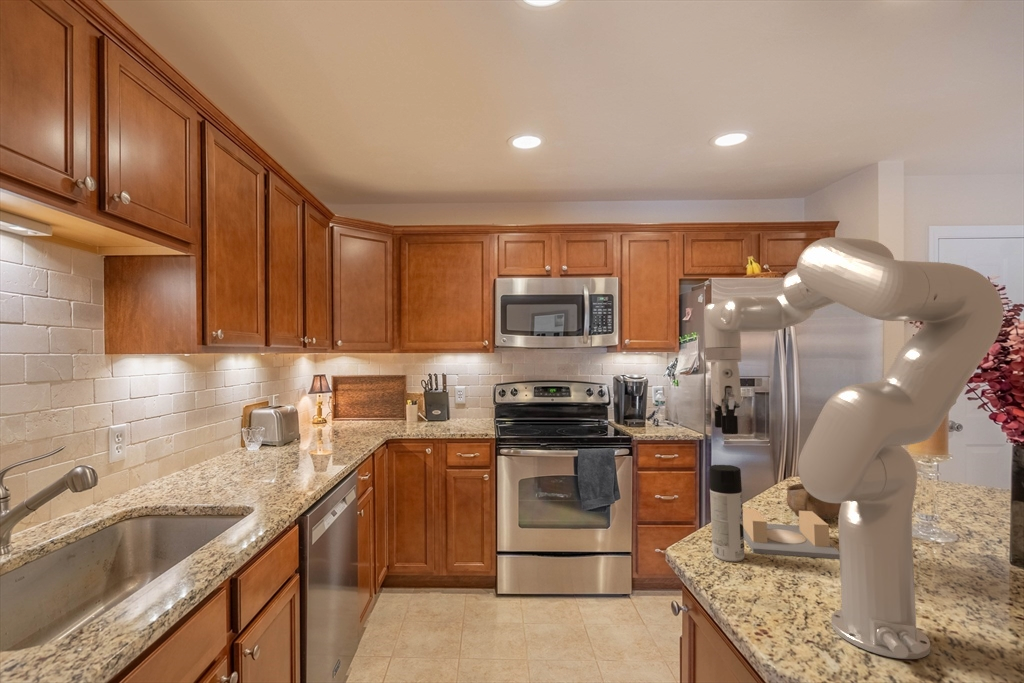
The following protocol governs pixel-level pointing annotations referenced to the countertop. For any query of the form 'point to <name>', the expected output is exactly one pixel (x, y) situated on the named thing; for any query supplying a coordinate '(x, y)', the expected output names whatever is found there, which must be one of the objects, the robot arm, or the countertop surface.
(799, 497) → the bowl
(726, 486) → the spray can
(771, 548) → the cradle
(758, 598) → the countertop surface
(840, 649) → the countertop surface
